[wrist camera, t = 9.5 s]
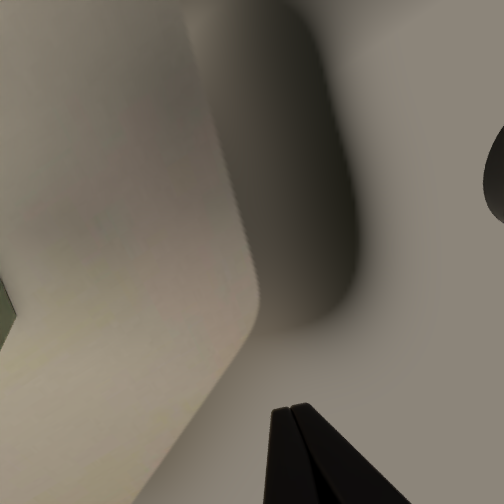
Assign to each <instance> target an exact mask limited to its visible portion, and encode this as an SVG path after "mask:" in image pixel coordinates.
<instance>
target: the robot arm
mask: <svg viewBox="0 0 504 504" xmlns="http://www.w3.org/2000/svg"><path fill="white" fill-rule="evenodd" d="M263 504H411V503H410V502H409V501H408V500H407V499H406V498H405V497H404V496H403V495H402V494H401V493H400V492H399V491H398V490H397V489H396V488H395V487H394V486H393V485H392V484H391V483H390V482H389V481H388V480H387V479H386V478H385V477H383V475H382V474H381V473H380V472H379V471H378V470H377V469H376V468H375V467H373V465H371V464H370V463H369V462H368V461H367V460H366V459H365V458H364V457H363V456H362V455H361V454H360V453H359V452H358V451H357V450H356V449H355V448H354V447H353V446H352V445H351V444H350V443H349V442H348V441H347V440H346V439H345V438H344V437H343V436H342V435H341V434H340V433H339V432H338V431H337V430H335V428H334V427H333V426H332V425H330V423H328V421H326V420H325V419H324V418H323V417H322V416H321V415H320V414H319V413H318V412H317V411H316V410H315V409H314V408H313V407H312V406H311V405H310V404H308V403H301V404H296V405H292V406H291V408H289V407H282V408H278V409H274V410H272V412H271V422H270V432H269V444H268V455H267V466H266V477H265V489H264V499H263Z"/></svg>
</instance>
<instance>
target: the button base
mask: <svg viewBox="0 0 504 504" xmlns="http://www.w3.org/2000/svg"><path fill="white" fill-rule="evenodd" d="M15 319H16V315H15V312H14V310H13V308H12V305H11V303H10V301H9V298H8V296H7V293H6V291H5V289H4V286H3V284H2V282H1V279H0V351H1V348H2V346H3V344H4V342H5V340H6V338H7V336H8V334H9V331H10V329H11V327H12V325H13V323H14V321H15Z"/></svg>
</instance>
